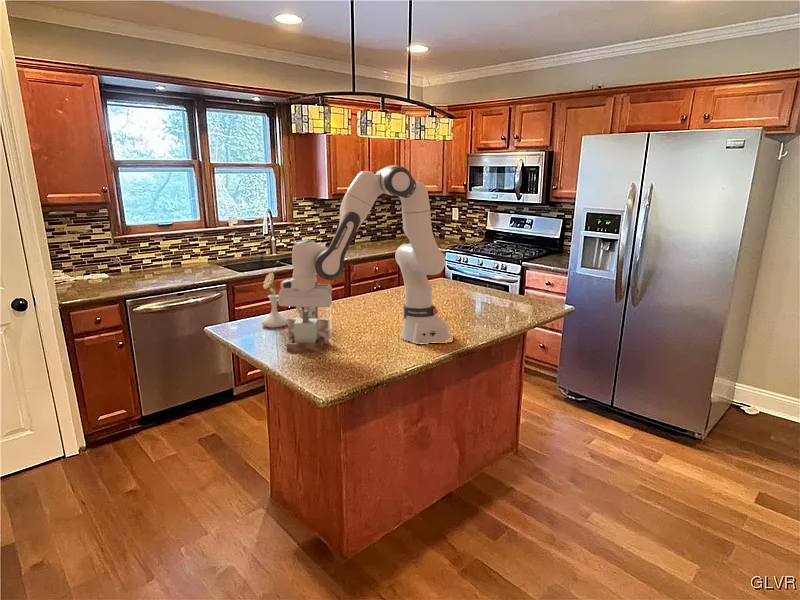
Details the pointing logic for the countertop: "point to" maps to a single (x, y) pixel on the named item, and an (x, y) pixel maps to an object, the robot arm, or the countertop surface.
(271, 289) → the flower in vase
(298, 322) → the cube with grey handle
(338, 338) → the countertop surface
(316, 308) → the coffee box
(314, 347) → the tan lidded box
